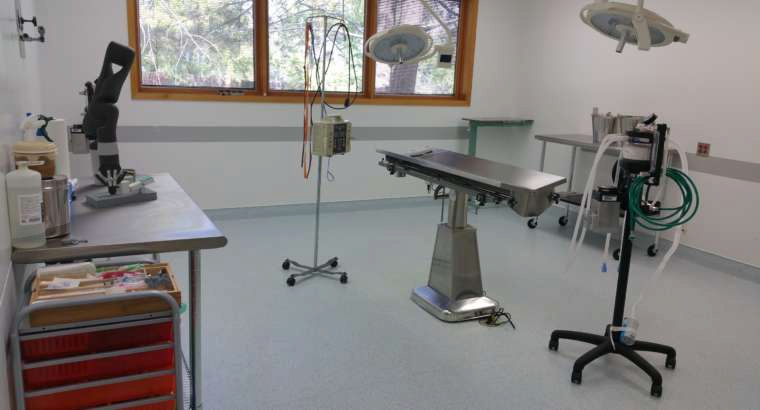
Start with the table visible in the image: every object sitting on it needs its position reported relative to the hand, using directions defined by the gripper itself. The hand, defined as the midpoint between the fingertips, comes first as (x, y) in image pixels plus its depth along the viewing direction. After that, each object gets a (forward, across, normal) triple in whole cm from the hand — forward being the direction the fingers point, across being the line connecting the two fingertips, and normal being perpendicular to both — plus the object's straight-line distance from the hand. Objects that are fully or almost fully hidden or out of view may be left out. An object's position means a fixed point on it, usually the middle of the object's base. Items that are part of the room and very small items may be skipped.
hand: (112, 194), depth 224 cm
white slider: (+1, -5, 0) cm, 5 cm away
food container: (+4, -13, -21) cm, 25 cm away
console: (+4, -5, -4) cm, 8 cm away
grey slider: (+1, -10, -9) cm, 13 cm away
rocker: (-3, -12, 0) cm, 12 cm away
